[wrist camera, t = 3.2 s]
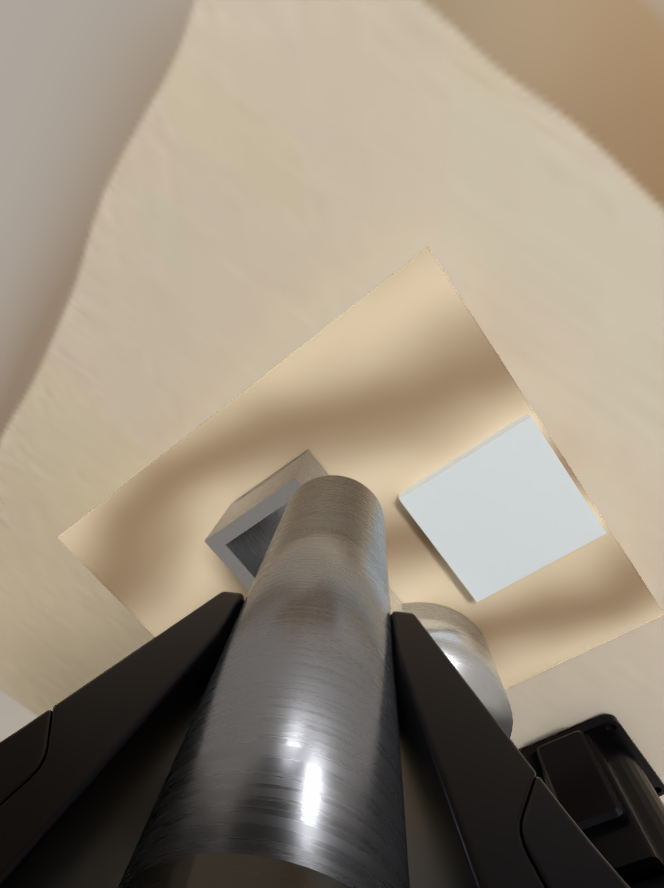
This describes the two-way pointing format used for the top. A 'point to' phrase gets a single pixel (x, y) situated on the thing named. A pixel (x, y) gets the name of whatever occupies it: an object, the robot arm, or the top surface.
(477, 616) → the board
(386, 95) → the top surface
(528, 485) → the coaster
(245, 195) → the top surface
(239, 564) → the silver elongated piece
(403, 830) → the metal cylinder
